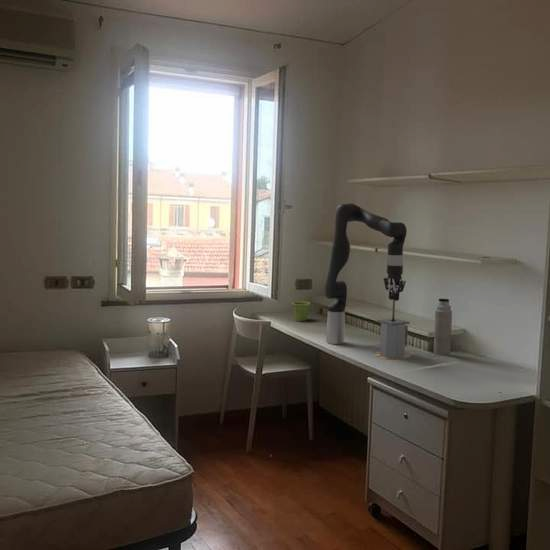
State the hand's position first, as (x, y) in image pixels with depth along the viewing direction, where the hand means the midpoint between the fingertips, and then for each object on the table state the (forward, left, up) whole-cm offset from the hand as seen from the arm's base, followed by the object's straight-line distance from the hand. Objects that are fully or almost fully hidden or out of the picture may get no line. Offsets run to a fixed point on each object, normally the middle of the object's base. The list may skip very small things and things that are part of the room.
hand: (393, 299), depth 297 cm
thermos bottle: (+8, +25, -28) cm, 39 cm away
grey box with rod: (0, +2, -27) cm, 27 cm away
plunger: (0, 0, -15) cm, 15 cm away
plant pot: (-105, +14, -28) cm, 110 cm away
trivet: (0, 0, -28) cm, 28 cm away
